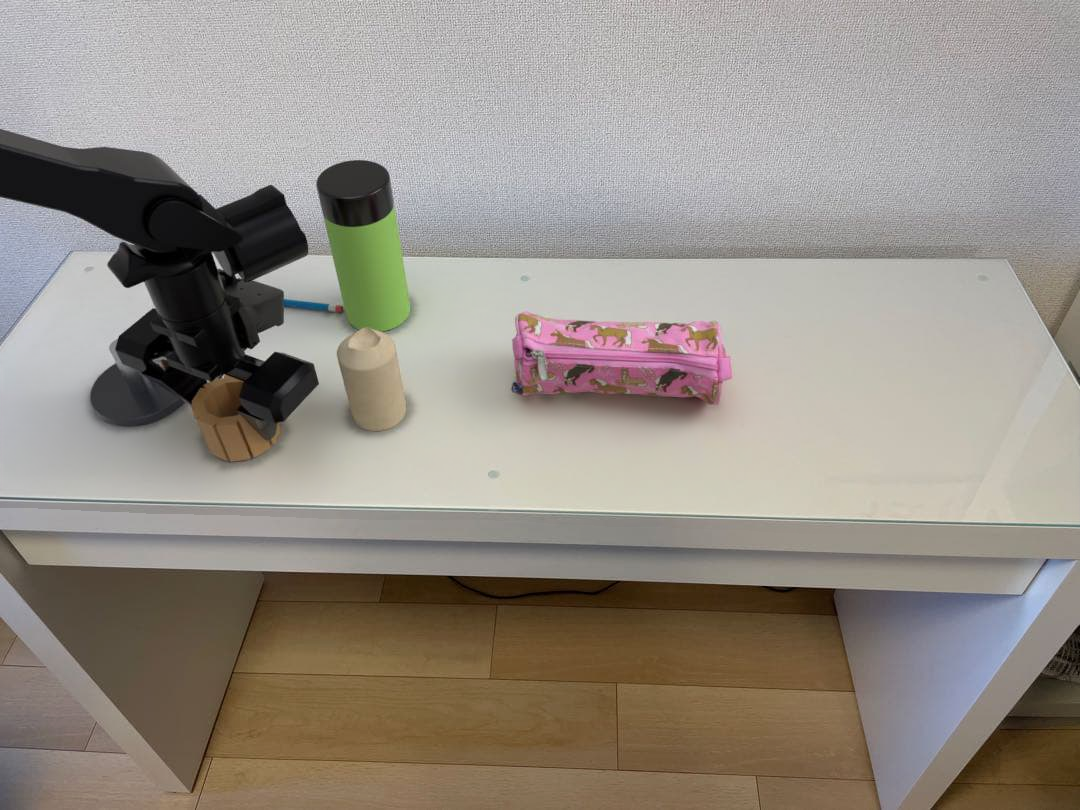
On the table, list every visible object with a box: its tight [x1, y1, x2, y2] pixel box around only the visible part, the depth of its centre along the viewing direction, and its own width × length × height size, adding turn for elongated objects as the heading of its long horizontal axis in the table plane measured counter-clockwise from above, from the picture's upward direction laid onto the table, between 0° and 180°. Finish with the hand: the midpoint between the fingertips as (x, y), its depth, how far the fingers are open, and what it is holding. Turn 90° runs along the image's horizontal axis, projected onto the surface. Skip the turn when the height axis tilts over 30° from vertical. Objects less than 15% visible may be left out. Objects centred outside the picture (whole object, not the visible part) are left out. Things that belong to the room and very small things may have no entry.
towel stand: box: [89, 338, 185, 427], centre depth 87 cm, size 10×10×6 cm
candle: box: [336, 327, 407, 432], centre depth 83 cm, size 6×6×10 cm
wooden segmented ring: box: [190, 374, 282, 462], centre depth 83 cm, size 7×7×5 cm
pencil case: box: [510, 311, 733, 406], centre depth 85 cm, size 21×9×9 cm, turn 85°
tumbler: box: [315, 159, 411, 332], centre depth 91 cm, size 8×8×17 cm
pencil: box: [284, 298, 344, 313], centre depth 98 cm, size 1×17×1 cm, turn 79°
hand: (240, 425), depth 83 cm, fingers closed on wooden segmented ring, 7 cm apart
